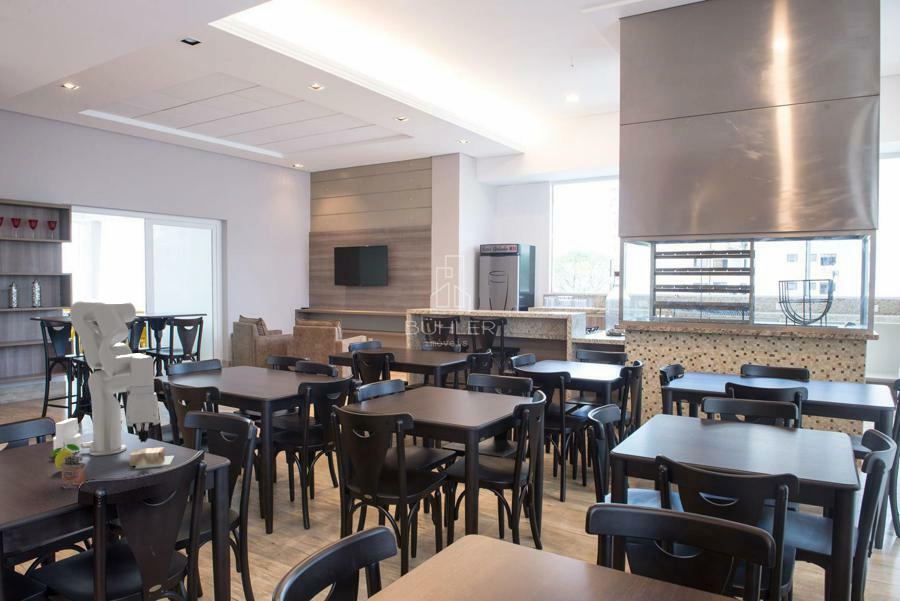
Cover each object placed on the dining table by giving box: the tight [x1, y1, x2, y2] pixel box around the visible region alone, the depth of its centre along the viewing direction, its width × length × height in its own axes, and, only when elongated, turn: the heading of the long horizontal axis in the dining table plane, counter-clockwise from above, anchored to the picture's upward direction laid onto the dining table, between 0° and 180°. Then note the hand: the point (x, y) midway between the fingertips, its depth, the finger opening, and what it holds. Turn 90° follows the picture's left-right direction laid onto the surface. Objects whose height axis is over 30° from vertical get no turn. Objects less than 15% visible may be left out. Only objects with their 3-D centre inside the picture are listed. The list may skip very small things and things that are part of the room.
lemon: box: [50, 442, 80, 470], centre depth 208 cm, size 7×6×10 cm
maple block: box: [129, 446, 165, 467], centre depth 215 cm, size 4×7×10 cm
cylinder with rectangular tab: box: [52, 417, 82, 454], centre depth 231 cm, size 9×9×12 cm
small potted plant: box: [61, 454, 86, 490], centre depth 191 cm, size 8×3×10 cm, turn 76°
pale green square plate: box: [135, 455, 175, 469], centre depth 216 cm, size 11×11×1 cm
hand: (143, 441), depth 215 cm, fingers closed
